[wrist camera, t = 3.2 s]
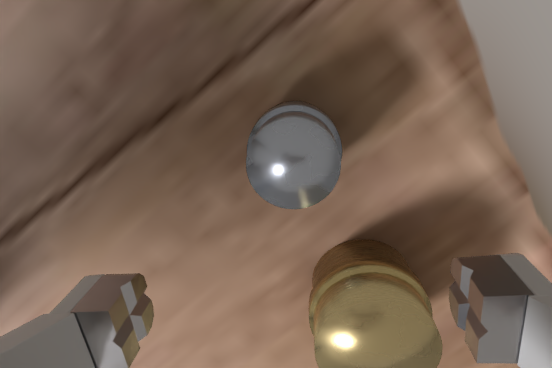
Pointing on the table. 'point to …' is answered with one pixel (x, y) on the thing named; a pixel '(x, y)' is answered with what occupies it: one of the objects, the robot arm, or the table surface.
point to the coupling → (294, 155)
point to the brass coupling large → (370, 310)
